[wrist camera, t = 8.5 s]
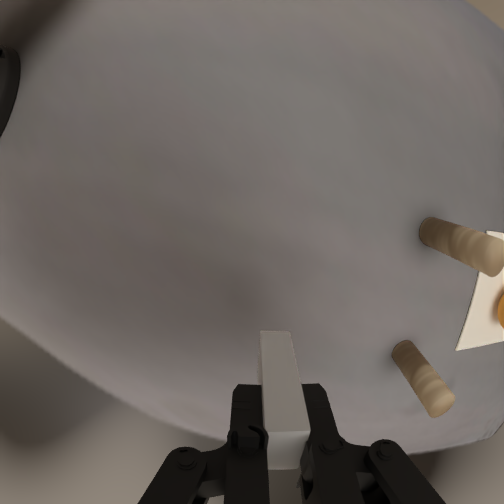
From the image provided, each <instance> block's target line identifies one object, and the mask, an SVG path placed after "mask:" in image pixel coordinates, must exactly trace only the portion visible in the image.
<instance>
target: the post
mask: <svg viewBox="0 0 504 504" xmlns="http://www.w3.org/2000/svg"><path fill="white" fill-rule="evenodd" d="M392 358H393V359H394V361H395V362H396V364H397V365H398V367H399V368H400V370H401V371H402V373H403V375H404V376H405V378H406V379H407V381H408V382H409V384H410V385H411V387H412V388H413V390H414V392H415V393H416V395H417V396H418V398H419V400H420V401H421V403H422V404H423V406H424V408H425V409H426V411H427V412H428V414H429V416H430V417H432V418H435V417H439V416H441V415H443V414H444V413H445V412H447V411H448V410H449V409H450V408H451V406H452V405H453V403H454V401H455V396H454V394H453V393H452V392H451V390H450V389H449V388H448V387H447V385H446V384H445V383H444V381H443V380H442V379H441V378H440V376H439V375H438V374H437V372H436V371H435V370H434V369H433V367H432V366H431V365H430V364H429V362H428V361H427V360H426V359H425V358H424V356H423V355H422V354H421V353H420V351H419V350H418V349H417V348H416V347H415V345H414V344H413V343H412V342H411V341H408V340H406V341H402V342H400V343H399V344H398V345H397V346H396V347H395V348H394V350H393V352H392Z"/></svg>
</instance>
